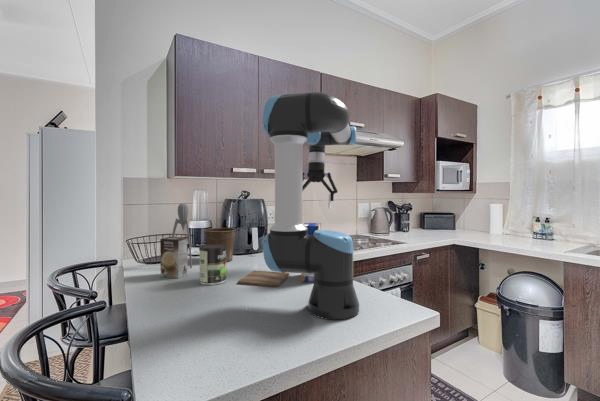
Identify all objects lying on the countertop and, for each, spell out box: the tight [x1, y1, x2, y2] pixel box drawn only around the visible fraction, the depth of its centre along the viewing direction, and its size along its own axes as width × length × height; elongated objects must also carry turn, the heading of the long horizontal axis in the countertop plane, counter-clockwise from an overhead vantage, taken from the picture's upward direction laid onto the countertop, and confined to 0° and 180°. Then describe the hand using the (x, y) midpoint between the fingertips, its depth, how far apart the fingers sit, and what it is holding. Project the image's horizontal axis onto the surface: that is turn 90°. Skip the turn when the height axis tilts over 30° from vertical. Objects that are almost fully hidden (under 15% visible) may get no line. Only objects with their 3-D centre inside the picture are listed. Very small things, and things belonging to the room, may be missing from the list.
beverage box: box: [300, 222, 322, 283], centre depth 121 cm, size 7×11×22 cm, turn 171°
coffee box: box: [159, 236, 188, 279], centre depth 125 cm, size 9×6×16 cm
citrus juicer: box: [171, 202, 193, 269], centre depth 141 cm, size 11×10×30 cm
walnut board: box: [237, 270, 290, 288], centre depth 120 cm, size 16×16×1 cm
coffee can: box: [198, 244, 227, 286], centre depth 118 cm, size 10×10×14 cm
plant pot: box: [203, 227, 237, 263], centre depth 153 cm, size 16×16×16 cm
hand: (315, 207), depth 139 cm, fingers open, 13 cm apart
